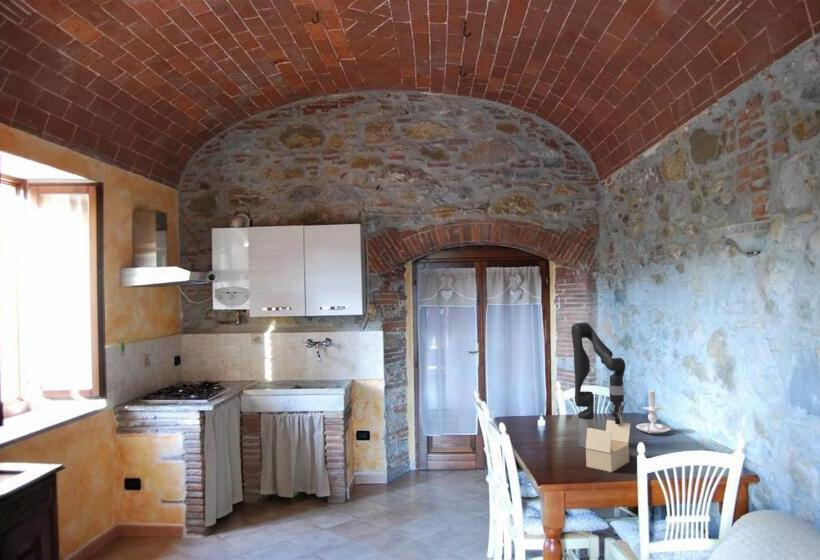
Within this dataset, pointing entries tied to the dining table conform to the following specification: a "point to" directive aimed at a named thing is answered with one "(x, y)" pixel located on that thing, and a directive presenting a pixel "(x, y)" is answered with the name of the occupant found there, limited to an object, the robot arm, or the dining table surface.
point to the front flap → (598, 440)
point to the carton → (608, 457)
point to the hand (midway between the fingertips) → (617, 423)
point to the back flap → (619, 431)
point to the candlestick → (652, 418)
